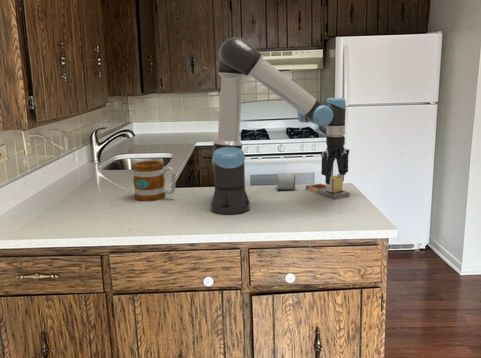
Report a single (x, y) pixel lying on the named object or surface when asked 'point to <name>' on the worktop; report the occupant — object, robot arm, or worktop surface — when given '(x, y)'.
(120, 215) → the worktop surface
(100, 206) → the worktop surface
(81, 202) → the worktop surface
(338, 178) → the block
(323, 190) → the grey slotted board
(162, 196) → the mug
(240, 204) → the robot arm
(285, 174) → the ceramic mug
